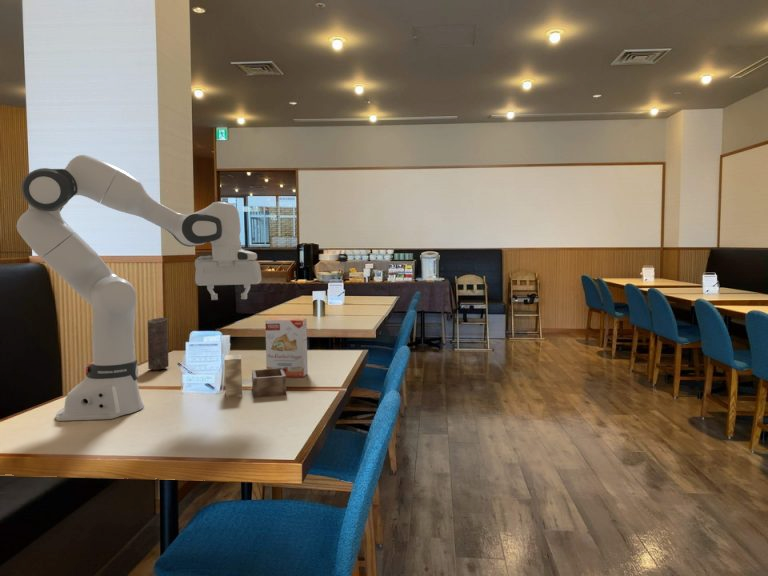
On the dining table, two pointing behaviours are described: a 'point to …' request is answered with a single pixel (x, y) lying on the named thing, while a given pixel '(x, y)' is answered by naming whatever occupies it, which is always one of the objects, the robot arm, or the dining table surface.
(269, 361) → the cracker box
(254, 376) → the caddy
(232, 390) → the oak block
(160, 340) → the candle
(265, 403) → the dining table surface
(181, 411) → the dining table surface
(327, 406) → the dining table surface
